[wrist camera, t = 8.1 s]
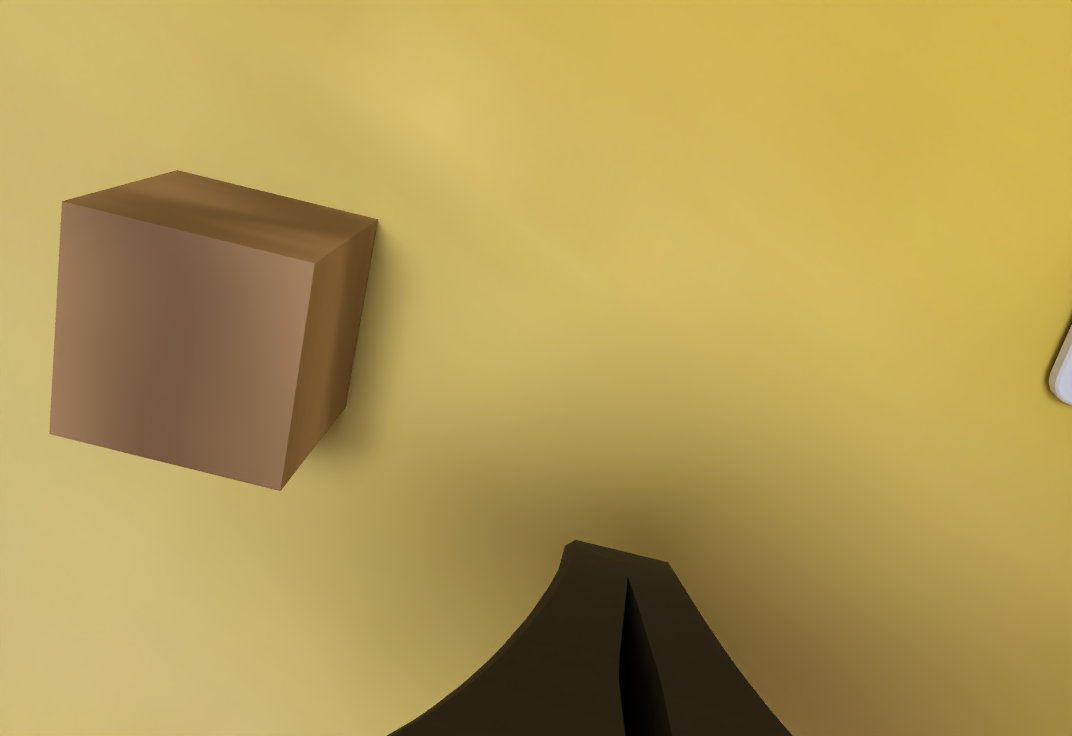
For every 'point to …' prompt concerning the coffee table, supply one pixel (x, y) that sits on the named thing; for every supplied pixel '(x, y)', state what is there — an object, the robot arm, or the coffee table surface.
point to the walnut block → (206, 323)
